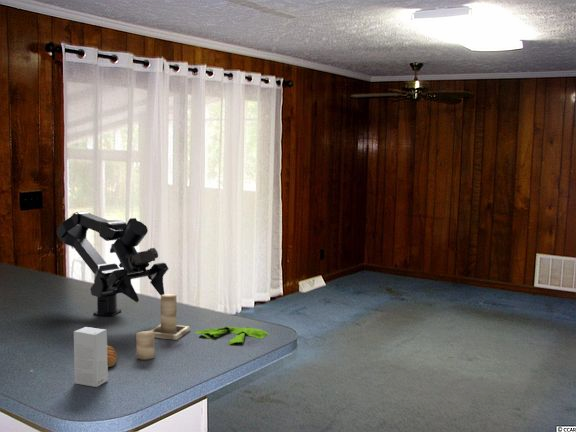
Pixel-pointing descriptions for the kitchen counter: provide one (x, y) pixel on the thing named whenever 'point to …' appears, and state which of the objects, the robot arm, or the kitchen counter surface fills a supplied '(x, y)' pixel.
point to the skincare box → (90, 356)
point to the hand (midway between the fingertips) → (150, 298)
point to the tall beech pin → (169, 313)
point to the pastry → (111, 356)
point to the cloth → (239, 338)
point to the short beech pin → (145, 345)
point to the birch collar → (170, 336)
